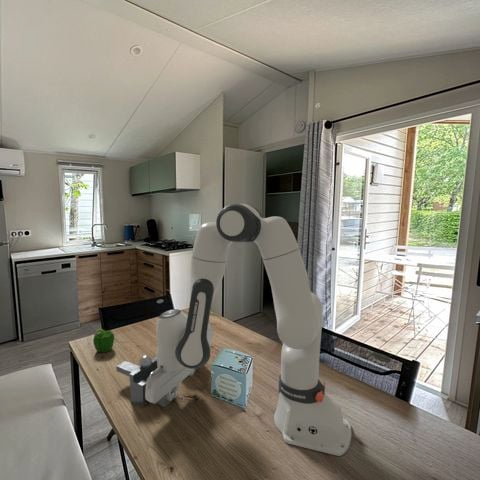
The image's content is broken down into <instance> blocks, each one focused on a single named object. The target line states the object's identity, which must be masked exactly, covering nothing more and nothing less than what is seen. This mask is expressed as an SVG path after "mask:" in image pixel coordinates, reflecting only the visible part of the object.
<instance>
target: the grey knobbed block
mask: <svg viewBox="0 0 480 480" xmlns="http://www.w3.org/2000/svg"><path fill="white" fill-rule="evenodd" d="M173 400H174V399H172V400H171V401H169V400H167V395H165V396H163V397H162V398H161V399H160V400H159V401H157V402H156V403H155V404H157V405H159V406H161V407H166V406H168V405H169V404H170V403H171V402H172V401H173Z"/></svg>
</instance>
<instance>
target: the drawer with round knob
mask: <svg viewBox="0 0 480 480" xmlns="http://www.w3.org/2000/svg"><path fill="white" fill-rule="evenodd" d="M115 367H116V372H118V373H121V374H123V375H125V376H126V377H129V388H130V389H129V391H130V403H132V404H134V405H137V406H139V407H141V408H145V407H146V406H147V400H146V399H145V389H146V382H147V379H148V377H149V376H150V373H151V372H153V371H155V370H156V369H157V368H158V367H157V356H155V357H153V358H152V356H150V355H148V354H147V355H146V354H145V355H143V356H141V357H140V359H139V361H138V365H137V364H134V363H132V362H129V361H127V360H124V361H123V362H121V363H119V364H118V365H116V366H115Z"/></svg>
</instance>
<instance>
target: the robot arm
mask: <svg viewBox="0 0 480 480" xmlns="http://www.w3.org/2000/svg"><path fill="white" fill-rule="evenodd" d="M233 243H255V244H256V245H257V247H258V250H259V252H260V256H261V259H262V262H263V264H264V269H265V271H266V274H267V277H268V280H269V284H270V287H271V294H272V299H273V306H274V312H275V317H276V333H277V336H278V338H279V340H280V341H281V342H282V347H281V350H280V351H281V354H280V355H281V357H280V374H279V377H278V393H279V396H278V400H277V401H278V402H277V406H276V409H275V413H274V415H273V422H274V425H275V426H276V428H277V429H278V431H280V434H282V437H283V441H284V442H285V443H286V444H289V445H292V446H297V447H301V448H306V449H309V450H312V451H316V452H321V453H325V454H329V455H333V456H336V457H337V456H338V457H341V456H342V455H345V453H346V452H348V450H349V448H350V445H351V441H352V427H351V424H350V422H349V421H348V419H347V418H344V415H343V411H342V408H341V406H340V405H339V404H338V403H337V402H335V401H334V399H332V398H331V397H330V396H329V395H328V394H327V393H326V392H325V391H326V381H323V383H322V382H321V381H320V379H319V373H320V371H319V370H320V369H319V368H320V355H321V354H320V352H321V342H322V341H321V340H322V329H323V328H322V327H323V318H324V317H323V316H324V315H323V314H324V313H323V312H324V309H323V305H322V302H321V299H320V297H318V296H317V294H315V293H314V292H312V291H311V288H310V282H309V275H308V274H309V273H308V271H307V269H306V266H305V261H304V259H303V256H302V253H301V250H300V248H299V244H298V242H297V238H296V237H295V234H294V233H293V230H292V228H291V226H290V225H289V223H288V221H287V220H286V219H285V218H284V217H282V216H275V215H274V216H269V217H263V215H262V214H261V212H260V211H259V210H258V209H257V208H256V207H254V206H252V205H249V204H246V203H230V204H228V205H226V206H224V207H223V208H222V209H220V211H219V213H218V214H217V217H216V221H208V222H205V223H202V224H201V225H200V226H199V228H198V230H197V233H196V236H195V240H194V242H193V246H192V247H193V248H192V252H191V259H190V296H189V298H190V300H189V307H188V311H187V314H186V313H185V312H184V311H182V310H181V309H175V308H174V309H169V310H166V311H164V312H163V313H161V314H160V315H159V316H158V318H157V320H156V328H155V329H156V330H155V331H156V333H155V334H156V335H155V336H156V337H155V339H156V343H157V348H156V357H157V367H158V368H157V369H156V370H155V371H153V372H151V373H150V376H149V377H148V379H147V382H146V389H145V399H146V402H149V403H151V404H157V403H156V402H157V401H159V400H160V399H161V398H162V397H163V396H165V395H167V400H169V401H171V400H172V399H173V400H174V399H176V397H177V395H178V390H179V386H180V383H181V382H183V380H186V378H187V377H188V375H190V374H191V373H192V372H193V370H194V369H196V368H197V369H199V368H202V367H204V366H205V365H206V364H208V361H209V360H210V358H211V347H212V342H213V337H214V328H213V326H212V324H211V322H210V317H211V316H210V315H211V310H212V306H213V303H214V299H215V297H216V294H217V292H218V290H219V289H220V285H221V284H222V280H223V278H224V275H225V272H226V268H227V265H228V258H229V251H230V248H231V245H232V244H233ZM197 369H196V370H197ZM173 400H172V401H173ZM172 401H171V402H172Z"/></svg>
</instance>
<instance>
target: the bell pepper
mask: <svg viewBox="0 0 480 480" xmlns="http://www.w3.org/2000/svg"><path fill="white" fill-rule="evenodd" d="M96 332H97V333H95V334H94V335H93V341H92V342H93V346H94V349H95V350H96V351H97V352H98V353H102V352H103V353H107V352H110V351H112V349H113V346H114V343H115V335H114V333H113V331H112V330H111V329H110V330H104V329H102V328H100V329H99V328H98V329H97V330H96Z"/></svg>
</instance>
